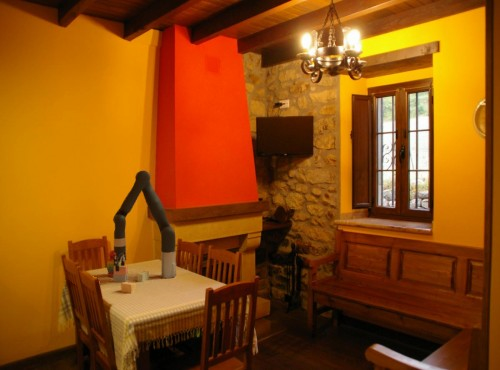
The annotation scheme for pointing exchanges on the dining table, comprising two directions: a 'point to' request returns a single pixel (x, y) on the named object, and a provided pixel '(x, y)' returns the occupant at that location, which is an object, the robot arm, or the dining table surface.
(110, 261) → the stacking bear
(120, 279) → the slate brick
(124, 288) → the ochre brick
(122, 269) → the terracotta brick
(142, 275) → the sage brick
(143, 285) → the dining table surface
